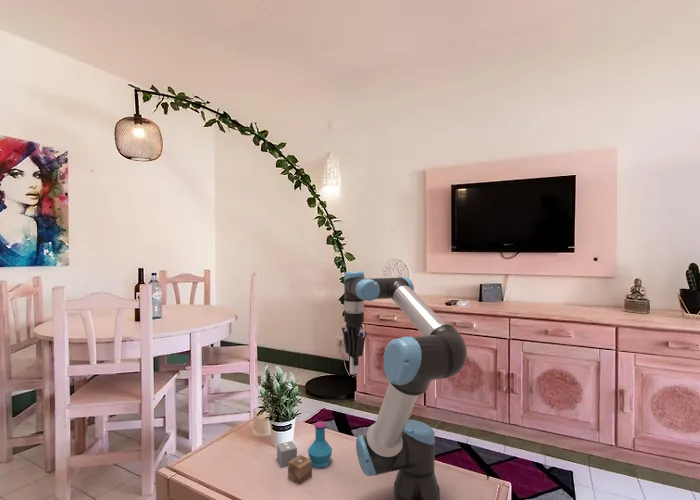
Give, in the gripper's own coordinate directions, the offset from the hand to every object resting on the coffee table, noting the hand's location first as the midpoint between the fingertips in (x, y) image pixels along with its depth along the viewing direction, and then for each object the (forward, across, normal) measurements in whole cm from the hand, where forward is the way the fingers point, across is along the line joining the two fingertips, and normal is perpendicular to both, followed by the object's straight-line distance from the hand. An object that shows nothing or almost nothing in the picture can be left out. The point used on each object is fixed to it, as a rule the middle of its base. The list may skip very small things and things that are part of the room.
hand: (353, 373), depth 144 cm
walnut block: (+35, +4, +21) cm, 41 cm away
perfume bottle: (+35, +8, +10) cm, 37 cm away
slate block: (+35, +16, +20) cm, 43 cm away
